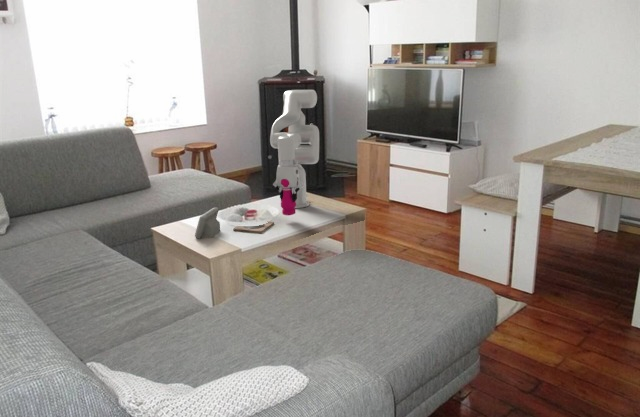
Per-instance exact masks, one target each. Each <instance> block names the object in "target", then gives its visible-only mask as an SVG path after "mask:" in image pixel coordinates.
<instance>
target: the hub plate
mask: <svg viewBox="0 0 640 417" xmlns="http://www.w3.org/2000/svg"><path fill="white" fill-rule="evenodd" d="M267 222H268V223H266V224H263V225H259V226H238V225H237V226H235V227H233V232H241V233H242V232H243V233H250V234H251V233H252V234H254V233H255V234H264V233H265V231H267V230H268V229H269V228H271V227H272V226H273V225H275V221H267Z"/></svg>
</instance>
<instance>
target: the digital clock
mask: <svg viewBox="0 0 640 417" xmlns="http://www.w3.org/2000/svg"><path fill="white" fill-rule="evenodd" d="M218 213H219V208H218V207H213V208H210V209H209V210H208V211H206V212H204V213H203V214H201V215H200V216H199V219H198V222H197V225H196V226H197V227H196V229H195V232H194V233H195V234H194V237H195V239H201V238H213V237H214V236H216V235H217V234H219V233H220V232H221V223H220V221H219V220H218V219H217V217H218Z"/></svg>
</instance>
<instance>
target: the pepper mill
mask: <svg viewBox="0 0 640 417" xmlns="http://www.w3.org/2000/svg"><path fill="white" fill-rule="evenodd" d="M281 184H282V185H283V186H284V187H282V189H283V198H282V201H281V200H280V207H281V209H282V211H281V212H282V213H281V214H282V215H284V216H293V215H295V214H296V213H297V212H296V208H295V207H296V201H295V202H293V198H292V188H291V187H287V186H288V185H289V181H288V180H287V179H282V180H281Z"/></svg>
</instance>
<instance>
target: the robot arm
mask: <svg viewBox="0 0 640 417" xmlns="http://www.w3.org/2000/svg"><path fill="white" fill-rule="evenodd" d="M282 94H283V95H282V98H283V99H282V100H283V109H282V115H280V116H279V117H278V118H277V119H276V120H275V121H274V122H273V124H272V126H271V129H270V136H269V143H270V146H271V147H272V148H273V149H277V152H278V153H277V154H278V165H277V168H276V179H275V181H274V182H273V183H272V186H274V188H276V190H277V192H278V193H279V199H280V202H281V201H282V198H283V189H282V187H284V186H283V185H282V184H281V180H282V179H287V180H288V181H289V185H288V186H287V187H291V188H292V198H293V202H295V201H296V207H295V209H304V208H306V207H309V206H310V202H309V201H308V200H307V197H308V194H307V180H306V179H307V178H306V177H307V174H306V170H305V169H304V167H303V166H302V165H315V164H317V163H318V162H319V160H320V130H319V128H318V126H317V125H315V124H306V115H305V114H304V113H303V111H302V109H311V108H312V109H313V108H315V106H316V104H317V101H318V94H317V92H316V90H315V89H291V90H290V89H289V90H286V91H284V93H282ZM285 128H288V132H285V131H284V132H281V131H282V130H283V129H285Z"/></svg>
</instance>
